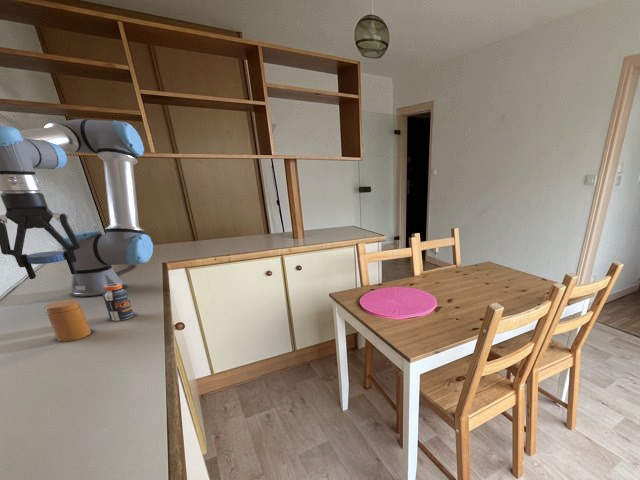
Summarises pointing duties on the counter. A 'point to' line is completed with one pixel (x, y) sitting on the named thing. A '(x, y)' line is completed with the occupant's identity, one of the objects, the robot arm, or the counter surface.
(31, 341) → the counter surface
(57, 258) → the lid
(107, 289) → the pill bottle
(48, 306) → the jar
